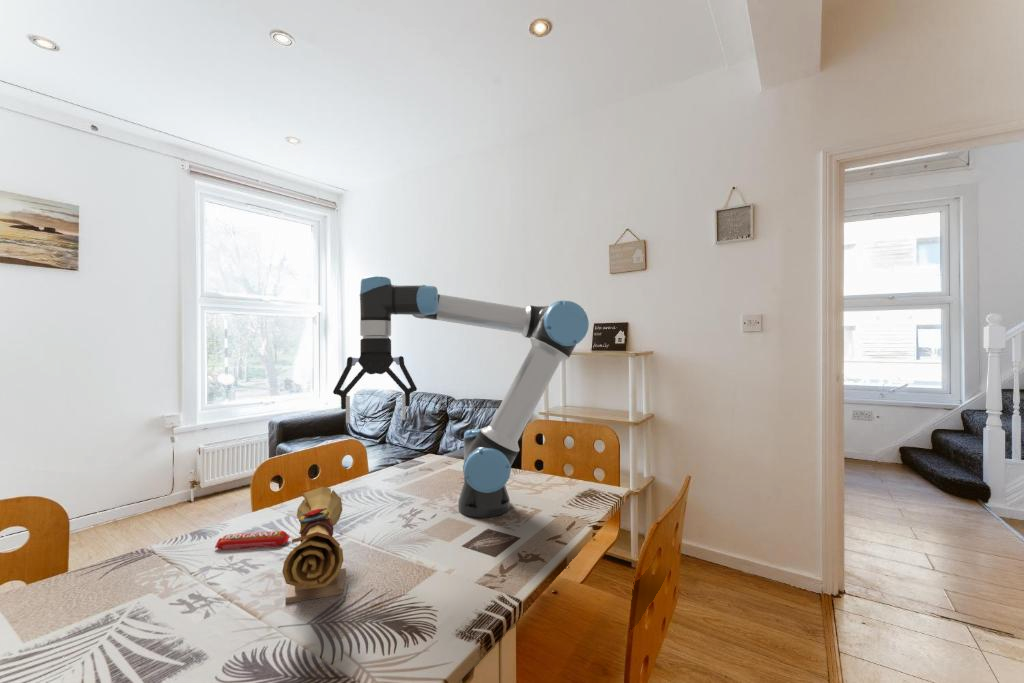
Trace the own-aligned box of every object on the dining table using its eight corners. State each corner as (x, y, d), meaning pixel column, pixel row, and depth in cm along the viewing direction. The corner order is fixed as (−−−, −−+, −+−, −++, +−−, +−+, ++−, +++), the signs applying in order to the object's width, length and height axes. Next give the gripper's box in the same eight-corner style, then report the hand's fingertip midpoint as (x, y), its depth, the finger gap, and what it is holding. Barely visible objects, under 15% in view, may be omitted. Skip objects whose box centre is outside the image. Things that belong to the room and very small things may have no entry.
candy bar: (213, 553, 100) (213, 540, 100) (221, 545, 104) (221, 533, 104) (286, 547, 103) (286, 535, 103) (291, 540, 106) (291, 528, 106)
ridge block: (346, 572, 91) (345, 537, 91) (342, 593, 83) (342, 555, 83) (294, 580, 88) (293, 543, 88) (285, 603, 80) (285, 563, 80)
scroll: (343, 587, 75) (343, 530, 75) (281, 600, 71) (281, 539, 71) (342, 525, 100) (342, 482, 100) (296, 532, 96) (296, 488, 96)
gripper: (424, 337, 117) (424, 415, 117) (325, 337, 110) (325, 420, 110) (426, 337, 110) (427, 420, 110) (321, 337, 103) (321, 426, 103)
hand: (376, 420), depth 110 cm, fingers open, 13 cm apart
